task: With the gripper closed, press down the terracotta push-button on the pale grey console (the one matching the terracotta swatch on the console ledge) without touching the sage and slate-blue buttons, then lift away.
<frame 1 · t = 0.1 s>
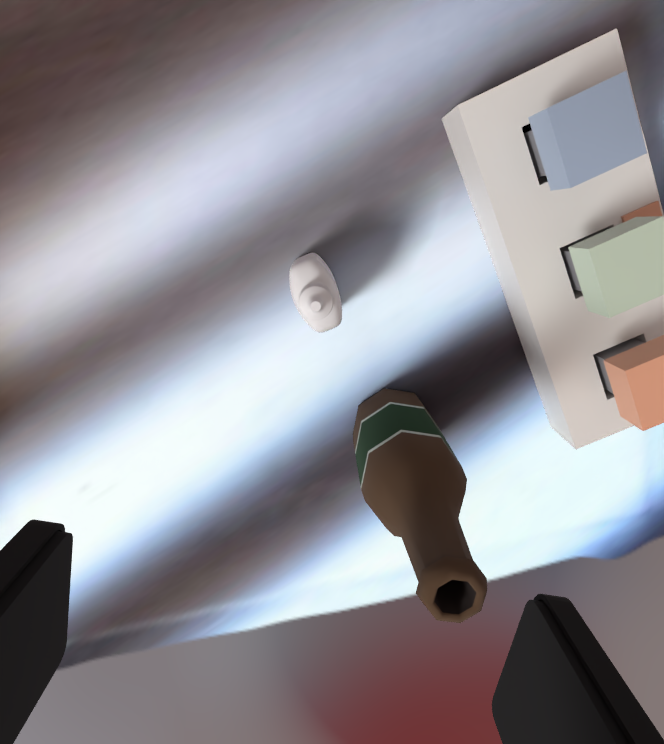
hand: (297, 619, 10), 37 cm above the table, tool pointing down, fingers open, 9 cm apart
terracotta button: (635, 372, 42), point 6 cm above the table, slide at 0.0 cm
slate button: (568, 140, 37), point 6 cm above the table, slide at 0.0 cm
beer bottle: (390, 422, 49), on the table
eye dropper bottle: (316, 284, 46), on the table
sage button: (604, 263, 39), point 7 cm above the table, slide at 0.0 cm
console: (564, 258, 45), on the table
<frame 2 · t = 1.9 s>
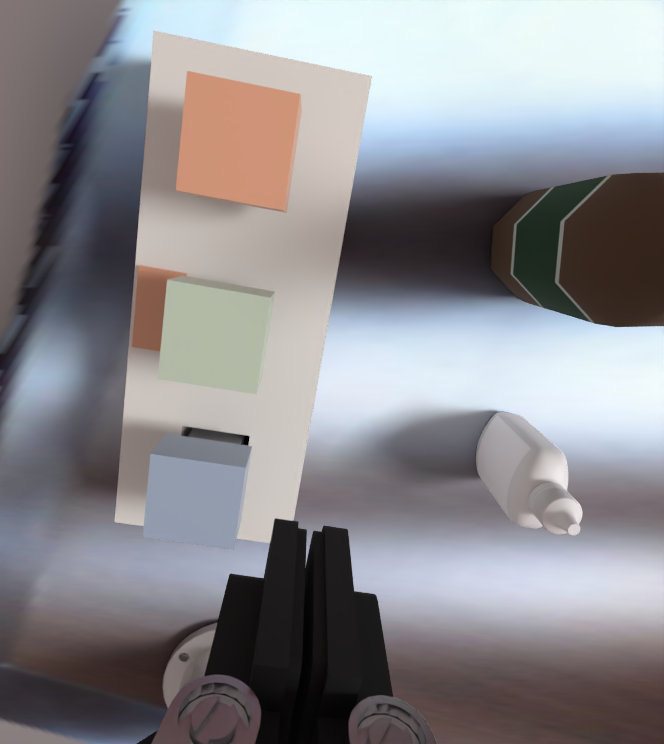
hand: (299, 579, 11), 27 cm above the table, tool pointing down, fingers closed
terracotta button: (247, 155, 28), point 6 cm above the table, slide at 0.0 cm
slate button: (207, 471, 33), point 6 cm above the table, slide at 0.0 cm
beer bottle: (537, 247, 36), on the table
eye dropper bottle: (497, 443, 40), on the table
sage button: (226, 325, 30), point 7 cm above the table, slide at 0.0 cm
console: (241, 310, 37), on the table
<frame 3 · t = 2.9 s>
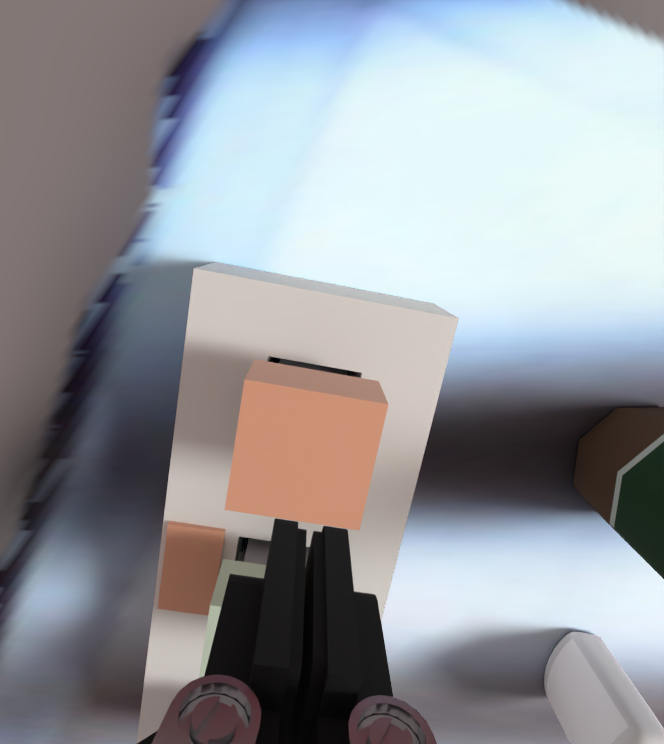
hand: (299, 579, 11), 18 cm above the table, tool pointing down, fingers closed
terracotta button: (306, 420, 23), point 6 cm above the table, slide at 0.0 cm
beer bottle: (628, 458, 31), on the table
eye dropper bottle: (568, 660, 35), on the table
sage button: (272, 599, 25), point 7 cm above the table, slide at 0.0 cm
console: (281, 526, 31), on the table
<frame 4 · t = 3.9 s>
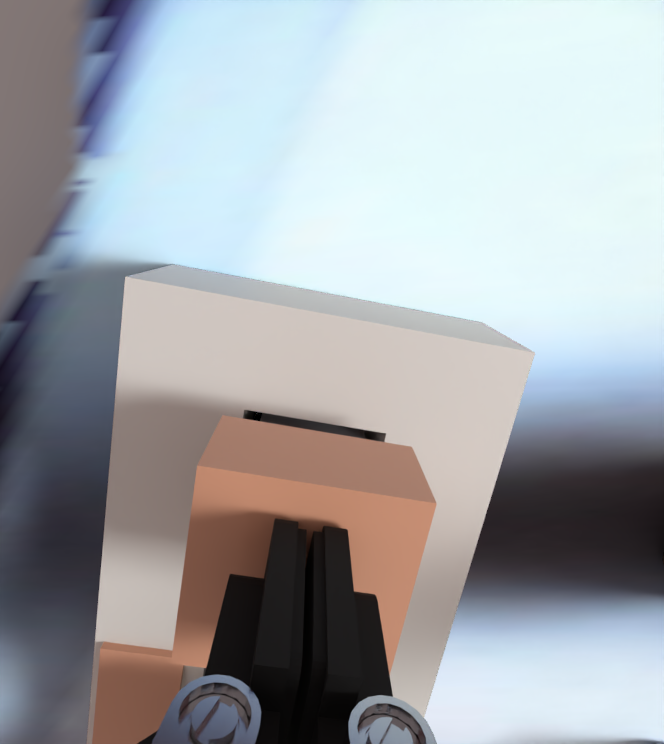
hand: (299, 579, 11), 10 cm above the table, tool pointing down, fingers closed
terracotta button: (302, 497, 15), point 6 cm above the table, slide at 0.8 cm, touching gripper
console: (270, 617, 23), on the table
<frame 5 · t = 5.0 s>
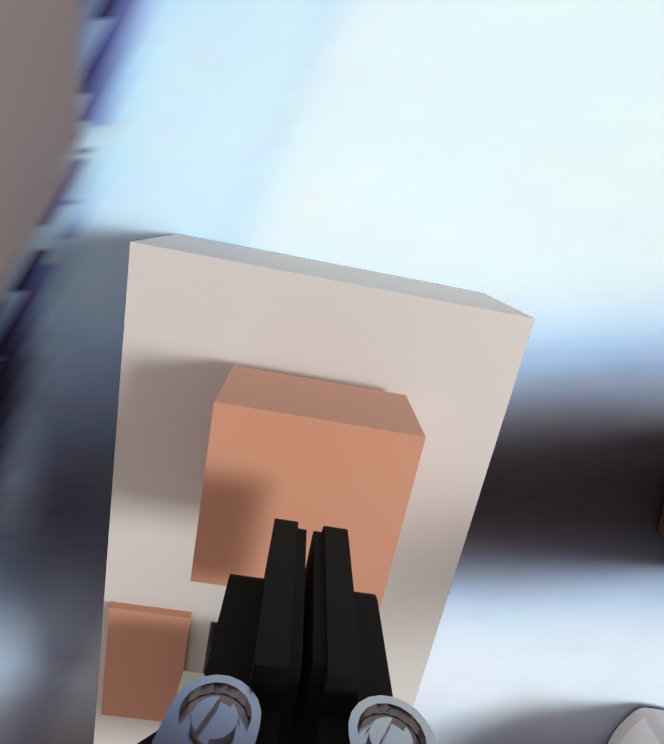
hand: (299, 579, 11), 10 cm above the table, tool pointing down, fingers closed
terracotta button: (306, 444, 17), point 5 cm above the table, slide at 1.9 cm
eye dropper bottle: (634, 738, 28), on the table
sage button: (257, 713, 18), point 6 cm above the table, slide at 0.0 cm
console: (273, 583, 24), on the table
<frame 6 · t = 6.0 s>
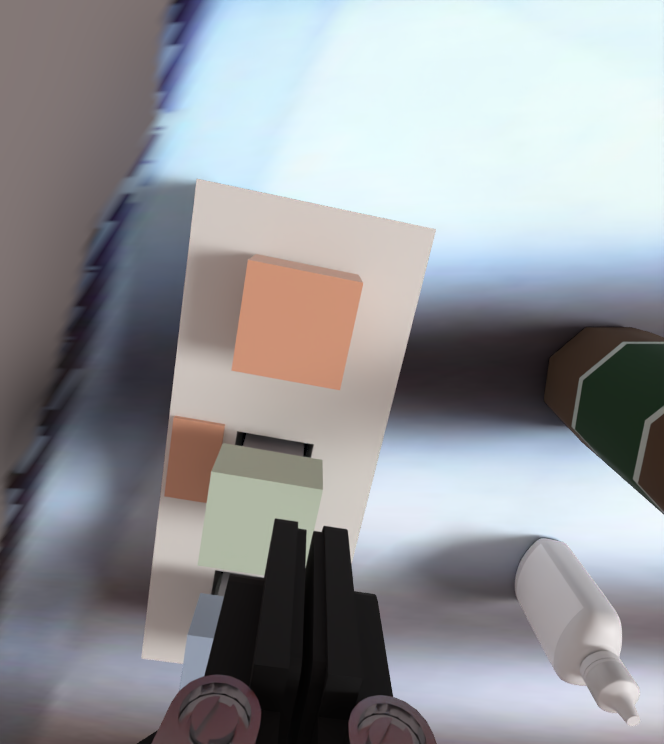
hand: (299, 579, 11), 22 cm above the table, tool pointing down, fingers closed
terracotta button: (299, 311, 27), point 5 cm above the table, slide at 1.9 cm
slate button: (241, 622, 31), point 7 cm above the table, slide at 0.0 cm
beer bottle: (595, 377, 34), on the table
eye dropper bottle: (538, 566, 38), on the table
sage button: (266, 485, 28), point 7 cm above the table, slide at 0.0 cm
console: (276, 435, 34), on the table
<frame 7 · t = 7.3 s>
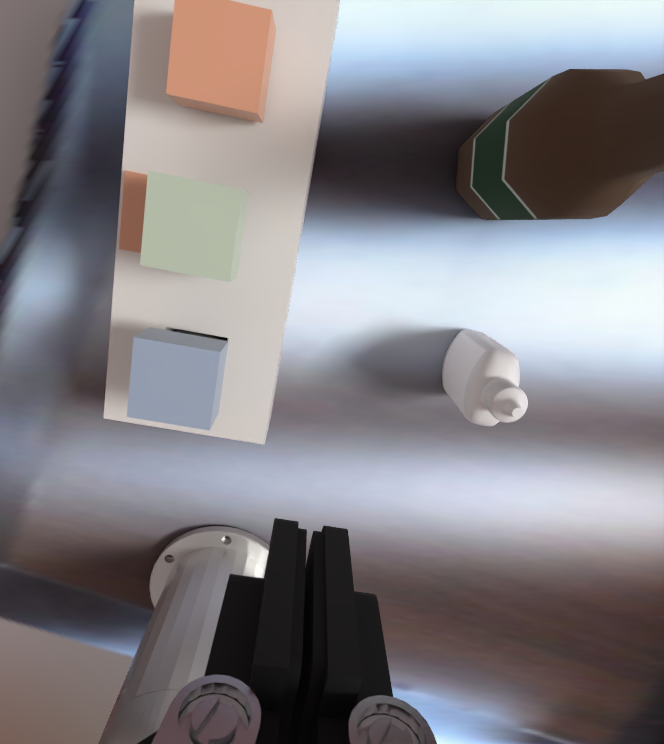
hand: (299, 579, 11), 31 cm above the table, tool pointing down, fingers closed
terracotta button: (229, 72, 32), point 5 cm above the table, slide at 1.9 cm
slate button: (188, 367, 35), point 6 cm above the table, slide at 0.0 cm
beer bottle: (501, 170, 39), on the table
eye dropper bottle: (462, 361, 43), on the table
sage button: (205, 227, 33), point 6 cm above the table, slide at 0.0 cm
console: (222, 226, 39), on the table
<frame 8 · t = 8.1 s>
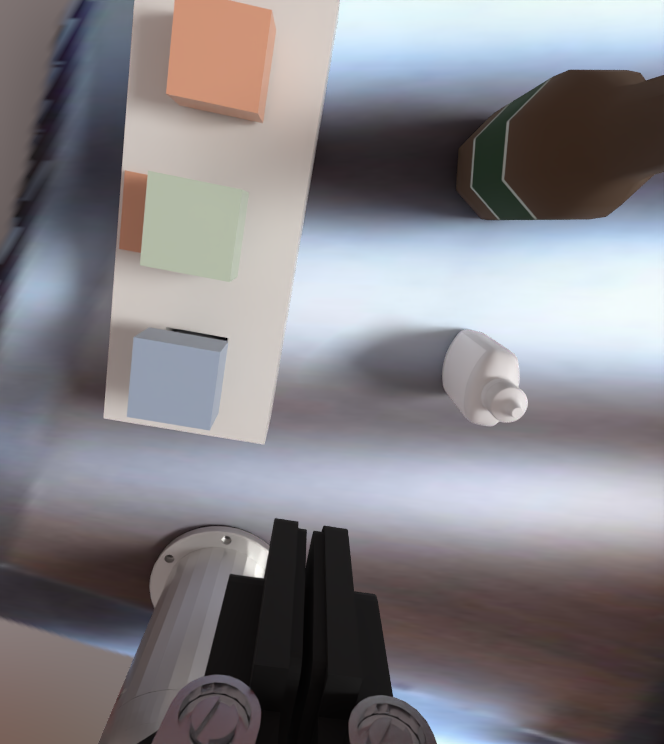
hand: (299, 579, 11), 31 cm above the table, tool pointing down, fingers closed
terracotta button: (229, 72, 32), point 5 cm above the table, slide at 1.9 cm
slate button: (188, 367, 35), point 6 cm above the table, slide at 0.0 cm
beer bottle: (501, 170, 39), on the table
eye dropper bottle: (462, 361, 43), on the table
sage button: (205, 227, 33), point 7 cm above the table, slide at 0.0 cm
console: (222, 226, 39), on the table
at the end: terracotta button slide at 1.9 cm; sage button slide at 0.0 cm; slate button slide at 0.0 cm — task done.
